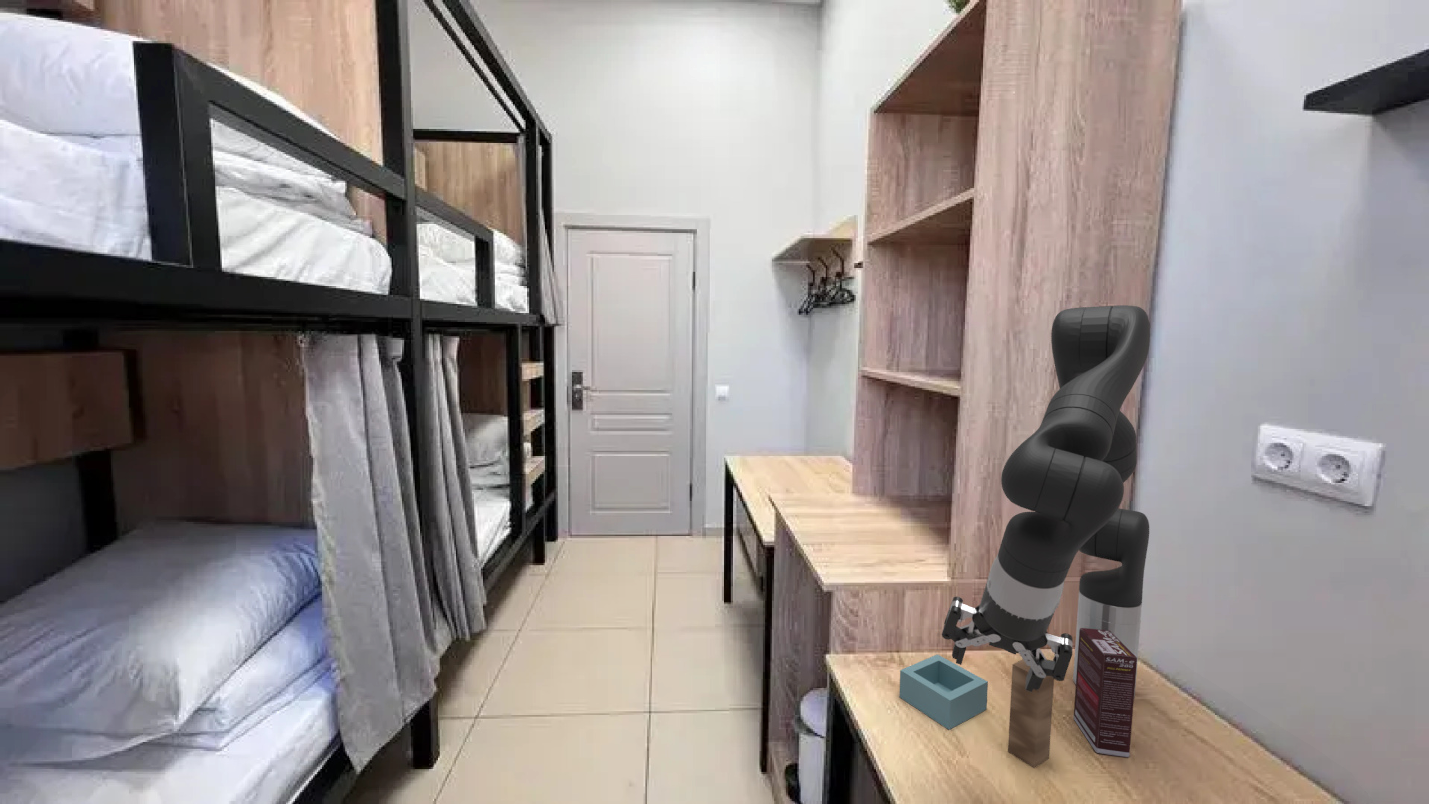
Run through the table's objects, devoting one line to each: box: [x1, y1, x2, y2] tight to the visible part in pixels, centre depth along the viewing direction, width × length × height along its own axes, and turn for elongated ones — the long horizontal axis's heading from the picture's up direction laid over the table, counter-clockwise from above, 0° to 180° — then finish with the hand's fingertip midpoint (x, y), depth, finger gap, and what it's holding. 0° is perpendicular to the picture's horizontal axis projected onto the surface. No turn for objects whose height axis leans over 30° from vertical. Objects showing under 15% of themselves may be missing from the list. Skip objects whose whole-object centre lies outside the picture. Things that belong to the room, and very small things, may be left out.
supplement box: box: [1073, 628, 1138, 758], centre depth 88 cm, size 9×5×16 cm, turn 168°
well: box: [898, 653, 989, 731], centre depth 97 cm, size 10×10×5 cm
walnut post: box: [1007, 658, 1055, 769], centre depth 84 cm, size 4×4×14 cm
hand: (992, 671), depth 75 cm, fingers open, 8 cm apart
